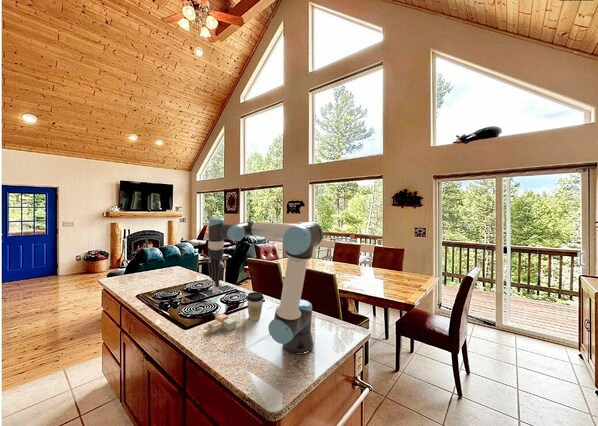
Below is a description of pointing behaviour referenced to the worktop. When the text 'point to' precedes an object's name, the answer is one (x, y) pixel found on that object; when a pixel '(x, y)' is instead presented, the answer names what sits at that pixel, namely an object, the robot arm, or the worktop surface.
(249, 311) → the coffee cup
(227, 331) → the square tile
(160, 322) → the worktop surface
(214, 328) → the birch block
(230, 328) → the sage block
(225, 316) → the terracotta block
